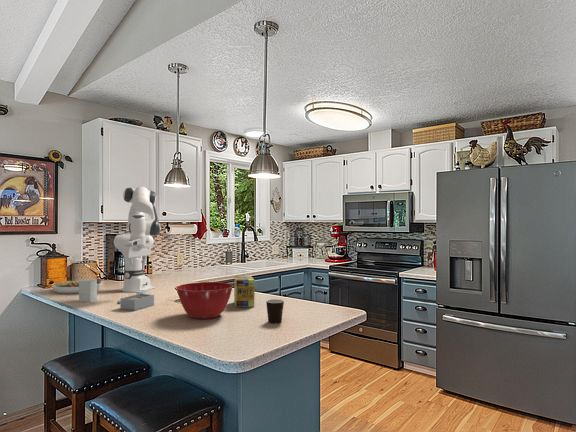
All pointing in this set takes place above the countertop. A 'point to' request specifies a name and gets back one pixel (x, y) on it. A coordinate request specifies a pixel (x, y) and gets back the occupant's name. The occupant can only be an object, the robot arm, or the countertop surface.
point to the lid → (138, 293)
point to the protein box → (244, 291)
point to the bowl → (70, 287)
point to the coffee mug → (274, 310)
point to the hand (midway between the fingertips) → (137, 264)
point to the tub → (136, 302)
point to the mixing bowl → (204, 298)
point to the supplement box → (87, 290)
